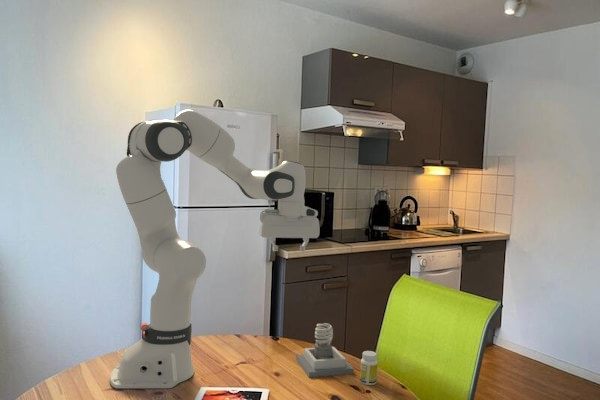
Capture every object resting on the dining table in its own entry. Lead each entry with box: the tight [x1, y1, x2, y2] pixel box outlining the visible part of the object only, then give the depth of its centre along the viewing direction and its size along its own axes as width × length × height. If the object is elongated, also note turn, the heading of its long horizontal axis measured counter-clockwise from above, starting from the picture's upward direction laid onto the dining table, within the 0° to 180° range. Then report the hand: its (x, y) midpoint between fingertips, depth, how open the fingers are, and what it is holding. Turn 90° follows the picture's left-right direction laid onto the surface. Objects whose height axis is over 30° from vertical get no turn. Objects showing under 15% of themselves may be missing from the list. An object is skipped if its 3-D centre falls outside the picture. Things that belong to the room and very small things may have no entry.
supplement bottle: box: [359, 350, 379, 386], centre depth 130 cm, size 5×5×8 cm
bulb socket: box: [295, 346, 354, 378], centre depth 140 cm, size 14×13×4 cm
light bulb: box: [314, 322, 334, 360], centre depth 139 cm, size 6×6×12 cm
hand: (288, 251), depth 152 cm, fingers open, 8 cm apart
